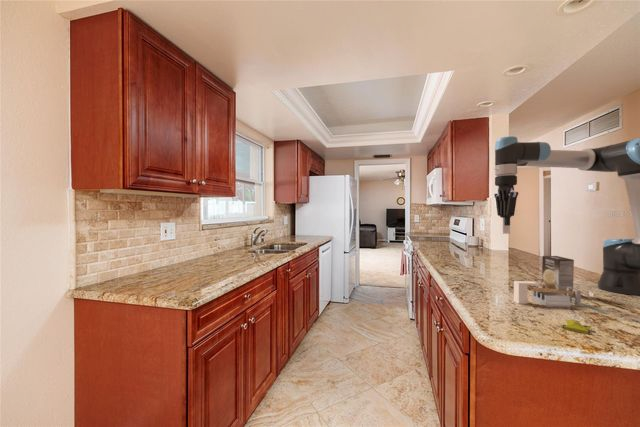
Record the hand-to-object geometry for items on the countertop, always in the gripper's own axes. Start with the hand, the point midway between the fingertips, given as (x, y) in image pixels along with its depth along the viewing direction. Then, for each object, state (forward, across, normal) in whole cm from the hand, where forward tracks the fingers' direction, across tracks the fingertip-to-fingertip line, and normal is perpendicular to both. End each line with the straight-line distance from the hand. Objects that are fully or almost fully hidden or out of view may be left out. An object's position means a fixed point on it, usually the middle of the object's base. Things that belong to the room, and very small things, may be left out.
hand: (505, 233), depth 114 cm
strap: (+21, +10, +11) cm, 25 cm away
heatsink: (+25, +10, +10) cm, 29 cm away
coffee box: (+27, -5, +24) cm, 36 cm away
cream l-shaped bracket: (+25, +10, +2) cm, 27 cm away
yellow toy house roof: (+27, +29, +5) cm, 40 cm away
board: (+26, +10, +10) cm, 30 cm away
